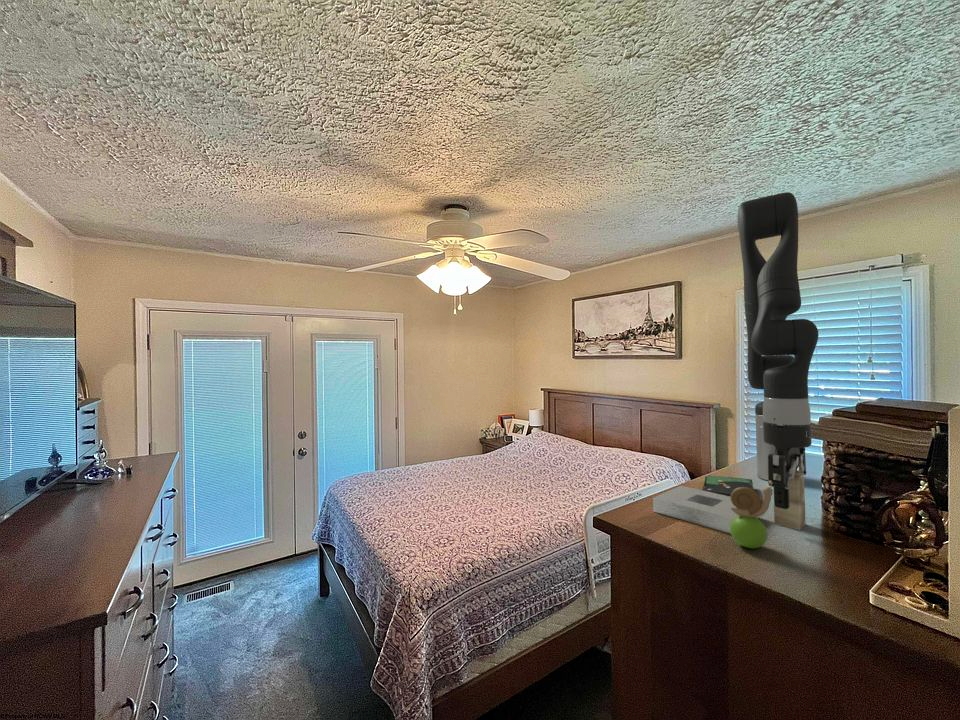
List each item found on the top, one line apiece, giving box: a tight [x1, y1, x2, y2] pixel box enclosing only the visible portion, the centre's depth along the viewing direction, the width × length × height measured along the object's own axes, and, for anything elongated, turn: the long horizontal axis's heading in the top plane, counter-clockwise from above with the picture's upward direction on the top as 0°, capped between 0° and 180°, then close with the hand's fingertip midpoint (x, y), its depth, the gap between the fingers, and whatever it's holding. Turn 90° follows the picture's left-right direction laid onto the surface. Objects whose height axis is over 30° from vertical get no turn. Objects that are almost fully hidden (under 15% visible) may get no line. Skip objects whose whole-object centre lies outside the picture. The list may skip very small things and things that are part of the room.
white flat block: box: [652, 485, 760, 535], centre depth 85 cm, size 13×16×3 cm
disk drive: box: [702, 474, 754, 496], centre depth 98 cm, size 10×3×15 cm
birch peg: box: [772, 472, 806, 531], centre depth 79 cm, size 4×4×10 cm
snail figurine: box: [730, 480, 774, 549], centre depth 70 cm, size 5×6×12 cm
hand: (788, 502), depth 79 cm, fingers open, 8 cm apart
